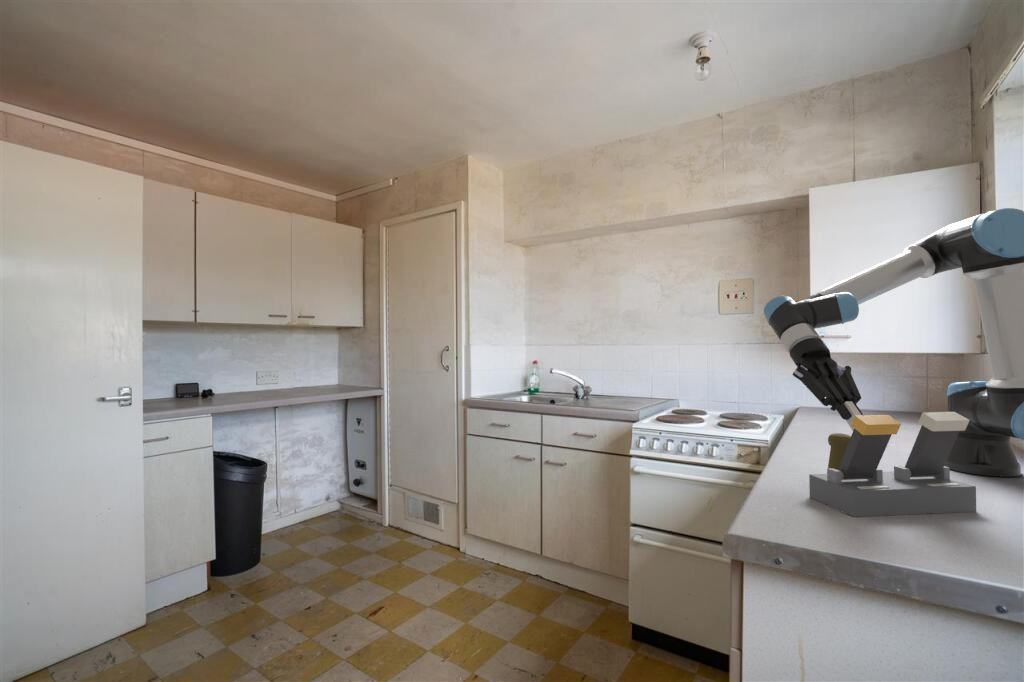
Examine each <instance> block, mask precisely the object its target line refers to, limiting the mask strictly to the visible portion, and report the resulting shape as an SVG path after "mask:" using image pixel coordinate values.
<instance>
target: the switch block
mask: <svg viewBox="0 0 1024 682" xmlns="http://www.w3.org/2000/svg"><path fill="white" fill-rule="evenodd" d="M950 470H951V469H950V468H949V467H945V466H944V467H943V470H942V472H941V475H940V476H939V477H911V478H910V469H908V468H905V466H900V465H894V466H893V471H891V470H890V471H883V469H880V468H879V467H877V469H876V472H875V474H874V478H873V479H856V480H842V475H841V471H839V470H836V469H833V468H828V467H827V469H826V473H813V474H812V473H811V474H809V475H808V476H809V477H808V478H809V482H808V483H809V498H811V499H813V500H815V501H818V502H819V501H820V502H819V503H821V502H822V504H824V505H826V504H827V505H826V506H828V505H829V507H830V506H831V507H830V508H833V509H835V508H836V509H835V510H837V509H838V510H837V511H839V510H840V512H841V511H843V512H842V513H844V512H845V513H844V514H846V513H847V514H846V515H848V514H849V516H850V515H851V517H853V516H863V517H882V516H883V517H885V515H886V516H908V514H910V515H925V514H926V515H927V513H928V515H930V514H929V513H933V514H949V513H950V514H951V513H952V514H953V513H955V512H956V513H973V512H974V513H976V512H977V486H976V485H973V484H968V483H966V482H962V481H958V480H954V479H951V476H950V475H951V474H950V473H951V472H950Z"/></svg>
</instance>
